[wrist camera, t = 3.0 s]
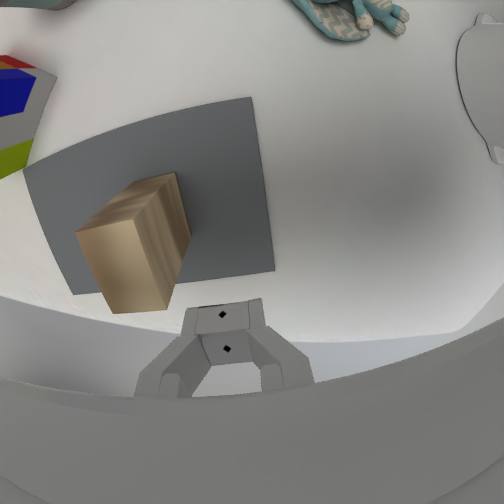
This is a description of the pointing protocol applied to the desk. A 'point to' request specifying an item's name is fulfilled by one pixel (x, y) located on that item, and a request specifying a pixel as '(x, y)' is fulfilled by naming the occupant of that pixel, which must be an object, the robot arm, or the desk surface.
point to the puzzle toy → (20, 110)
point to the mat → (190, 182)
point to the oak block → (138, 244)
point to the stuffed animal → (353, 17)
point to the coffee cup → (37, 4)
